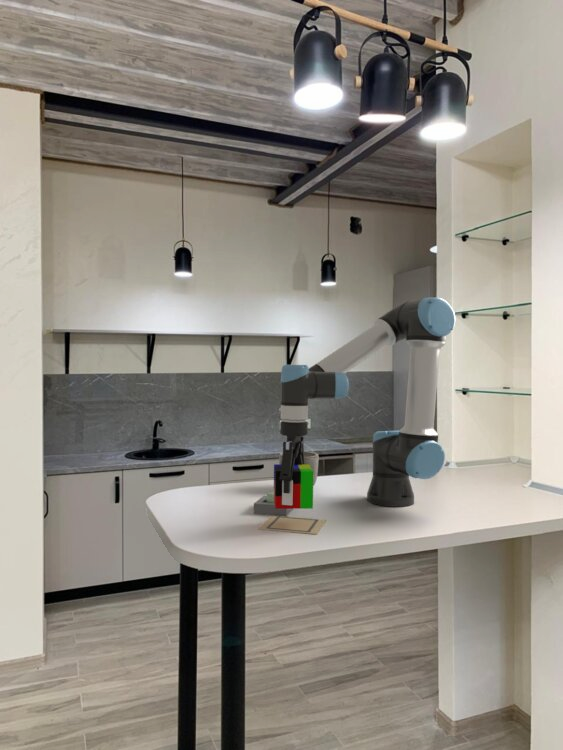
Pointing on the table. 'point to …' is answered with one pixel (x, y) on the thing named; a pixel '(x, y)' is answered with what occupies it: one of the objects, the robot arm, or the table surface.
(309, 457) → the planter
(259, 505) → the button box
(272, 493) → the button
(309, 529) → the sheet
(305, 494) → the puzzle toy
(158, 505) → the table surface
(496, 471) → the table surface
